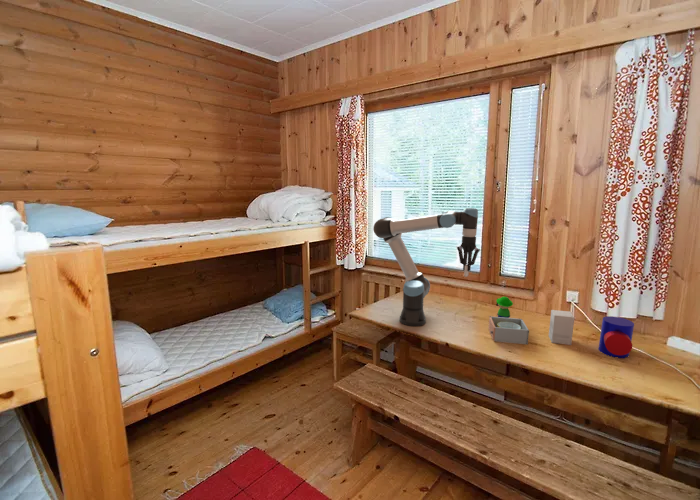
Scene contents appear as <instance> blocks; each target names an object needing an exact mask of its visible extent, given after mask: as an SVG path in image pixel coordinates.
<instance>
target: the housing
mask: <svg viewBox="0 0 700 500" xmlns="http://www.w3.org/2000/svg"><path fill="white" fill-rule="evenodd" d="M490 316H491V315H490ZM491 318H492V320H493V323H494V325H495V340H494V341H493V342H500V343H509V344H520V345H528V343H529V336H530V335H529V334H530V330H529V328H528V327H527V325H526V323H525V321H524V320H523V319H522V318H514V317H509V318H504V317H498V316H491ZM499 322H512V323H515V324H518V325H519V326H520V327H521V329H512V328H501V327H498V326H497V324H498V323H499Z"/></svg>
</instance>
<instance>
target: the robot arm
mask: <svg viewBox="0 0 700 500" xmlns="http://www.w3.org/2000/svg"><path fill="white" fill-rule="evenodd" d="M478 218H479V210H478V209H477V208H473V207H465V208H464V209H463V211H456V210H455V211H453V210H443V211H442V212H441V213H440V214H432V215H426V216H420V217H419V216H418V217H413V218H408V219H407V218H406V219H399V220H398V219H396V218H395V217H392V216H386V217H383V218H380V219H378V220H377V221H375V223H374V224H373V232H374V235H375V236H376V237H377V238H381V239H383V241H384V243H386V244H388V246H389V247H390V249H391V251H392V253H393V255H394V258H395V259H396V261H397V263H398V265H399V268H400V270H401V271H402V273H403V275H404V277H405V279H404V280H405V281H404V284H403V287H402V291H403V292H402V293H403V294H402V297H403V299H402V310H401V313H400V315H399V322H400V323H401V324H402V325H405V326H409V327H420V326H423V325H425V324H426V323H427V322H426V321H427V319H426V315H425V312H424V298H425V297H426V296H427V295H428V294H429V292H430V290H431V283H430V281H429V279H427V278H426V277H425V276H424V275H423V272H419V269H418V268H417V266H416V264H415V262H414V260H413V258H412V257H411V254H410V252H409V250H408V248H407V247H406V244H405V242H404V241H403V239H402V234H407V233H415V232H421V231H428V230H435V229H443V228H446V229H449V228H452V227H453V226H454V225H458V226H462V233H461V234H462V236H461V243H460V245H459V246H456V249H457V251H458V257H459V263H460V264H462V265H463V266H462V270H463V271H464V273H463V277H466V278H468V277H469V273H470V272H471V268H472V267H471V266H474V265H475V263H476V260H477V257H478V255H479V252H480V251H481V249H480V248H478V247H477V245H476V242H477V230H478ZM473 251H474V252H473Z"/></svg>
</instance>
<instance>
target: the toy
mask: <svg viewBox="0 0 700 500" xmlns="http://www.w3.org/2000/svg"><path fill="white" fill-rule="evenodd" d="M495 303H496V305H495V306H496V307H499V309H498V310H497V313H496V314H497V315H496V316H497V317H504V318H511V312H510V309H509V308H510V307H512V306H513V305H514V303H513V301H512V300H511V299H510V298H509V297H508V296H501V297H499V298H496V302H495Z"/></svg>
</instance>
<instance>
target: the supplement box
mask: <svg viewBox="0 0 700 500" xmlns="http://www.w3.org/2000/svg"><path fill="white" fill-rule="evenodd" d="M574 324H575V316H574V315H573V314H572V312H571V311H570V310H569V311H566V310H556V309H551V310H550V320H549V329H548V330H549V331H548V338H549V341H550V342H551V343H552V344H559V345H569V346H572V341H573V333H574Z"/></svg>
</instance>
